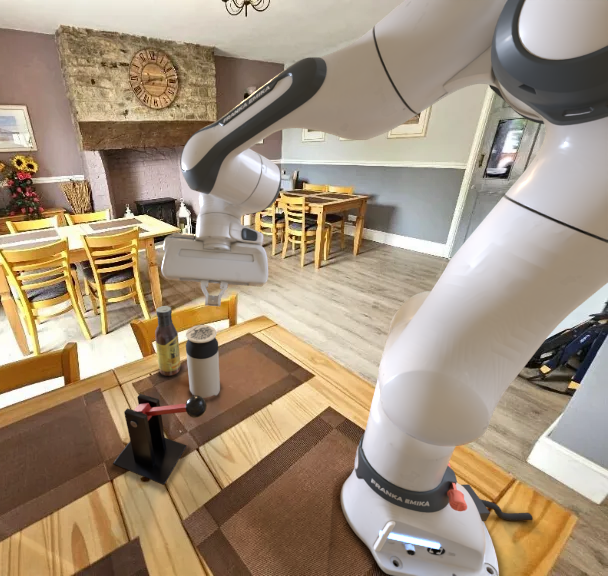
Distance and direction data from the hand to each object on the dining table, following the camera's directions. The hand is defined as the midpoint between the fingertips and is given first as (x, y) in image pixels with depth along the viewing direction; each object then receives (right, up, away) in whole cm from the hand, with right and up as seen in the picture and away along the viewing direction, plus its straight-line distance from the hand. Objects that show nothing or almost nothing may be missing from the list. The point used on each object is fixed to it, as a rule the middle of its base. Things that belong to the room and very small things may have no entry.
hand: (212, 305), depth 58 cm
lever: (-7, -20, -2) cm, 21 cm away
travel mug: (-3, -24, +24) cm, 34 cm away
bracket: (-13, -32, +6) cm, 35 cm away
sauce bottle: (-13, -21, +32) cm, 40 cm away
